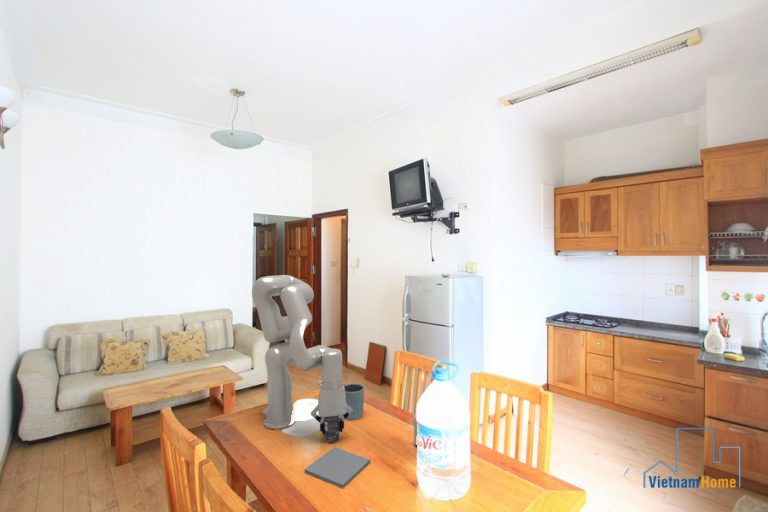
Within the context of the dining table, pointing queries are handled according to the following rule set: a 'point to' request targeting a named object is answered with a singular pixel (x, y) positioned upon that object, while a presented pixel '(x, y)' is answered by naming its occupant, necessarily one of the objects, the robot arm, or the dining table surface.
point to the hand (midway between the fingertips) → (332, 431)
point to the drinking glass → (354, 400)
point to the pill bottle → (332, 429)
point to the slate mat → (337, 467)
